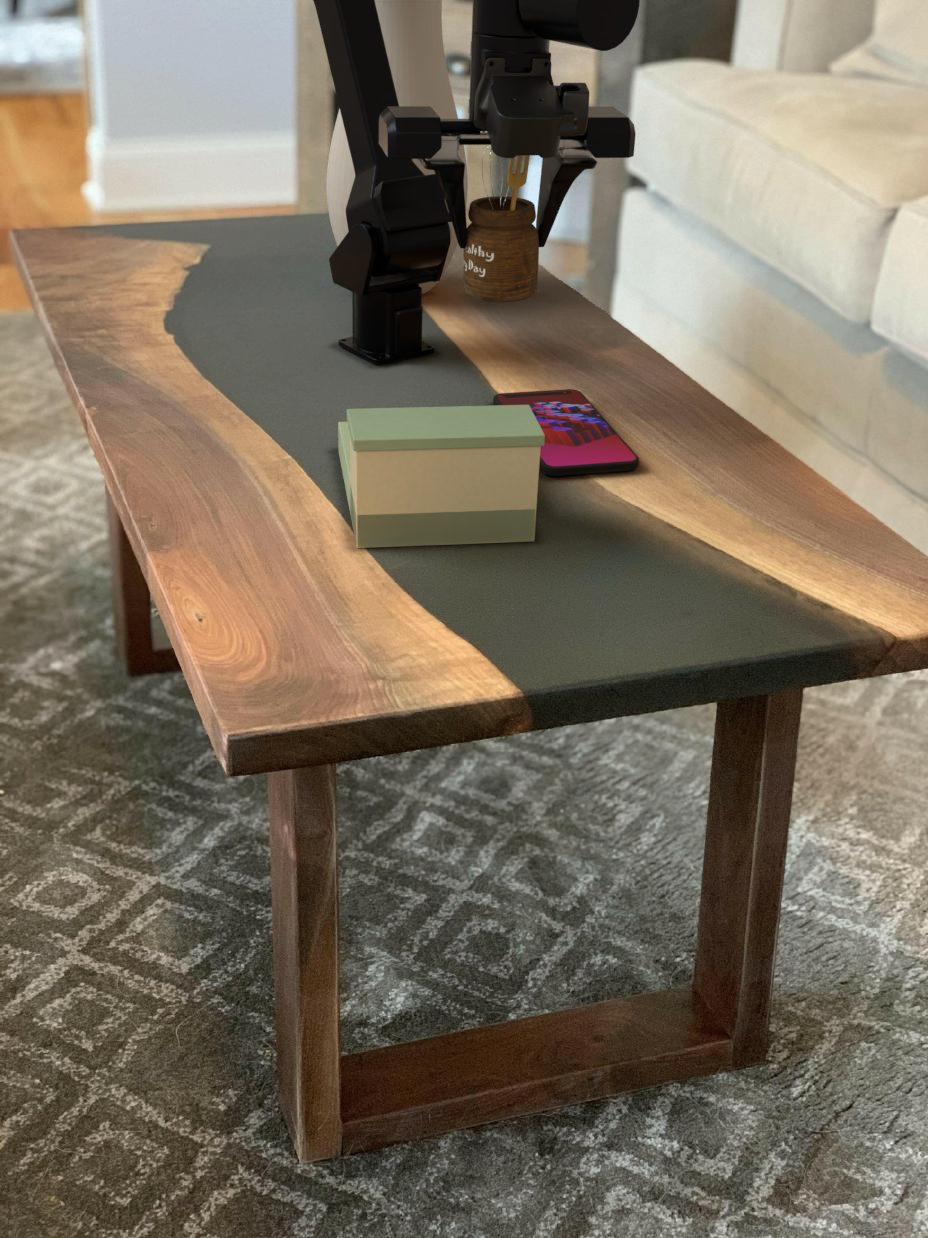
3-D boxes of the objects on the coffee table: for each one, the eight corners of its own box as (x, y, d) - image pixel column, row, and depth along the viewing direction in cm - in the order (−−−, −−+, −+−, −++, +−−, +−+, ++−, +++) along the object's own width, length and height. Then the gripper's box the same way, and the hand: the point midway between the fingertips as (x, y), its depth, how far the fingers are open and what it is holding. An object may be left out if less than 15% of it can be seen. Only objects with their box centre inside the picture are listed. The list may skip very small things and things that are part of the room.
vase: (312, 305, 138) (305, -31, 123) (347, 267, 149) (345, -44, 134) (449, 318, 136) (460, -22, 121) (474, 278, 147) (487, -36, 132)
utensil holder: (518, 278, 115) (523, 126, 109) (551, 300, 110) (558, 142, 104) (451, 285, 113) (452, 131, 107) (481, 308, 108) (484, 148, 102)
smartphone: (545, 468, 103) (490, 393, 116) (544, 479, 104) (489, 403, 116) (644, 461, 105) (579, 387, 117) (642, 472, 105) (578, 397, 118)
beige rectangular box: (335, 452, 107) (334, 353, 103) (496, 447, 108) (501, 350, 105) (353, 549, 93) (353, 440, 89) (537, 542, 95) (545, 434, 91)
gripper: (399, 47, 94) (397, 278, 102) (667, 49, 97) (645, 273, 105) (378, 25, 103) (377, 238, 111) (622, 27, 106) (605, 234, 114)
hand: (501, 246), depth 110 cm, fingers closed on utensil holder, 6 cm apart
